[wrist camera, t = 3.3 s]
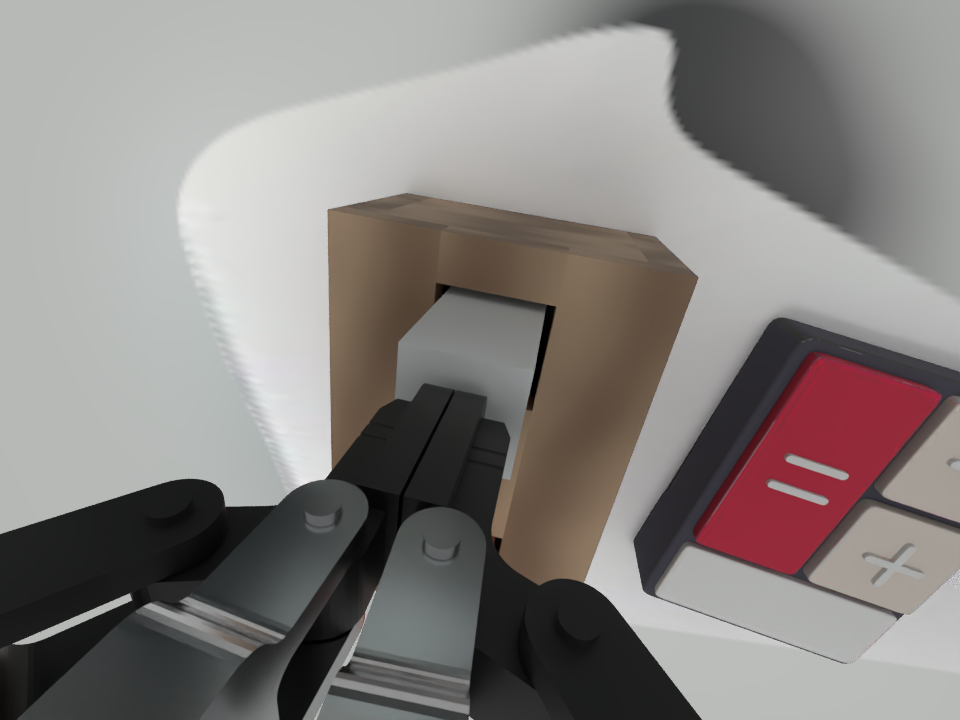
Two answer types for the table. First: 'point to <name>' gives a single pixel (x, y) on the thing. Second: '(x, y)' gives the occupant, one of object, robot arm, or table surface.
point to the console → (567, 360)
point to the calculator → (814, 495)
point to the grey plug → (476, 354)
